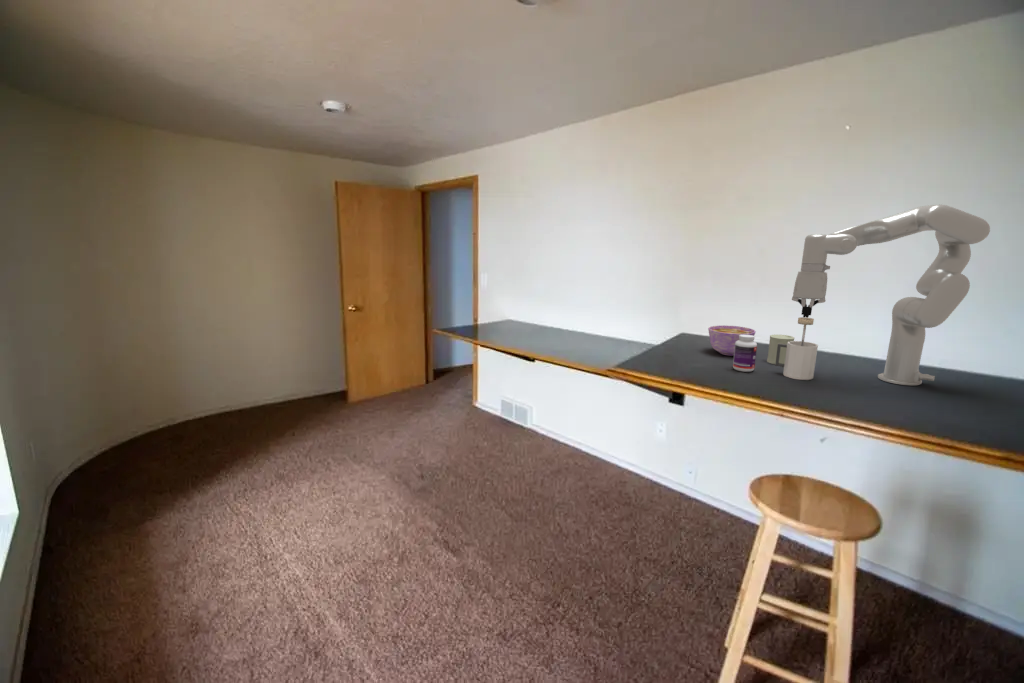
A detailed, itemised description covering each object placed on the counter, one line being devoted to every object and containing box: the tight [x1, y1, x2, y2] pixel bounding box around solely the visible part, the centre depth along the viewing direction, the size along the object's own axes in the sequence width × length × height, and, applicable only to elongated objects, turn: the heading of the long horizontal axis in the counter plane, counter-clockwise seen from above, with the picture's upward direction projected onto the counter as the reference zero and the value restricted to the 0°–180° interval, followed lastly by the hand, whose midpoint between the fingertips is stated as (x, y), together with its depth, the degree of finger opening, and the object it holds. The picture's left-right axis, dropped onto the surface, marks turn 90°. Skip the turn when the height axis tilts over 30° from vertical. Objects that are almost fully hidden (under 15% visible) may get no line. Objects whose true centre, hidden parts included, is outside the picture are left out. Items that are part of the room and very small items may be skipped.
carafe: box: [774, 340, 819, 381], centre depth 175 cm, size 13×10×13 cm
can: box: [766, 334, 795, 365], centre depth 194 cm, size 9×9×12 cm
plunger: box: [797, 316, 815, 346], centre depth 172 cm, size 7×7×14 cm
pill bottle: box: [732, 335, 758, 373], centre depth 183 cm, size 8×8×14 cm
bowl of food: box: [707, 325, 757, 357], centre depth 209 cm, size 20×20×12 cm
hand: (805, 316), depth 170 cm, fingers closed
